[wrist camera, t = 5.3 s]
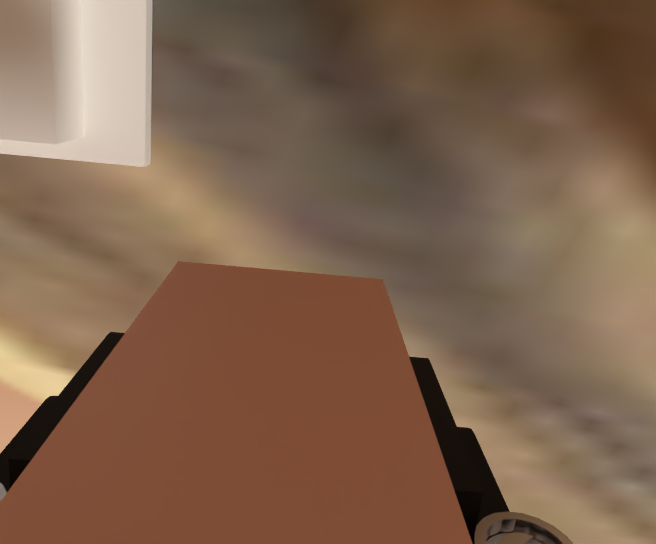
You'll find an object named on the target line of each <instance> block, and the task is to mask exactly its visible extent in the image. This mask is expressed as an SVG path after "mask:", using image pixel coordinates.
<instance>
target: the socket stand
mask: <svg viewBox="0 0 656 544" xmlns="http://www.w3.org/2000/svg"><path fill="white" fill-rule="evenodd" d="M151 78H152V0H0V153H2V154H12V155H23V156H34V157H44V158H55V159H66V160H76V161H87V162H98V163H108V164H119V165H130V166H141V167H146V166H147V165H149V164H150V163H151Z"/></svg>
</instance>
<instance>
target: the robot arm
mask: <svg viewBox="0 0 656 544" xmlns="http://www.w3.org/2000/svg"><path fill="white" fill-rule="evenodd" d="M124 334H125V333H117V332H110V333H109V334H108V335H107V336H106V337H105V339H104V340H103V341H102V342H101V344H100V345H99V346H98V347H97V349H96V350H95V351H94V352H93V354H92V355H91V356H90V357H89V359H88V360H87V361H86V362H85V363H84V365H83V366H82V367H81V368H80V370H79V371H78V372H77V373H76V375H75V376H74V377H73V378H72V380H71V381H70V382H69V383H68V385H67V386H66V387H65V388H64V390H63V391H62V392H61V393H60V395H59V396H50V397H48V398H47V399H46V400H45V401H44V402H43V403H42V405H41V406H40V407H39V408H38V409H37V411H36V412H35V413H34V414H33V415H32V417H31V418H30V419H29V420H28V422H26V424H25V425H24V426H23V427H22V429H21V430H20V431H19V432H18V433H17V435H16V436H15V437H14V438H13V439H12V441H11V442H10V443H9V444H8V445H7V446H6V448H5V449H4V450H3V451H2V452H1V454H0V502H1V500H2V499H3V498H4V496H5V495H6V494H7V492H8V491H9V490H10V488H11V487H12V485H13V484H14V483H15V481H16V480H17V479H18V477H19V476H20V475H21V473H22V472H23V471H24V469H25V468H26V467H27V465H28V464H29V463H30V461H31V460H32V458H33V457H34V456H35V454H36V453H37V452H38V450H39V449H40V448H41V446H42V445H43V444H44V442H45V441H46V440H47V438H48V437H49V435H50V434H51V433H52V431H53V430H54V429H55V427H56V426H57V425H58V423H59V422H60V421H61V419H62V418H63V417H64V415H65V414H66V413H67V411H68V410H69V408H70V407H71V406H72V404H73V403H74V402H75V400H76V399H77V398H78V396H79V395H80V394H81V392H82V391H83V390H84V388H85V387H86V385H87V384H88V383H89V381H90V380H91V379H92V377H93V376H94V375H95V373H96V372H97V371H98V369H99V368H100V367H101V365H102V364H103V362H104V361H105V360H106V358H107V357H108V356H109V354H110V353H111V352H112V350H113V349H114V348H115V346H116V345H117V344H118V342H119V341H120V340H121V338H122V337H123V335H124ZM409 358H410V361H411V364H412V367H413V370H414V373H415V376H416V379H417V382H418V385H419V388H420V391H421V394H422V397H423V399H424V402H425V405H426V408H427V411H428V414H429V417H430V420H431V423H432V426H433V429H434V432H435V435H436V438H437V441H438V444H439V447H440V450H441V452H442V455H443V458H444V461H445V464H446V467H447V470H448V473H449V476H450V479H451V482H452V485H453V488H454V491H455V494H456V497H457V500H458V502H459V505H460V508H461V511H462V514H463V517H464V520H465V523H466V526H467V529H468V532H469V535H470V538H471V541H472V544H573V543H572V542H571V540H570V539H569V538H568V537H567V536H566V535H565V534H563V533H562V532H561V531H559V530H558V529H557V528H555V527H554V526H552V525H551V524H549V523H547V522H545V521H543V520H541V519H539V518H536V517H533V516H530V515H526V514H523V513H516V512H509V509H508V507H507V505H506V503H505V501H504V498H503V496H502V494H501V492H500V489H499V487H498V485H497V483H496V481H495V478H494V476H493V474H492V472H491V469H490V467H489V465H488V463H487V461H486V458H485V456H484V454H483V452H482V450H481V447H480V445H479V443H478V441H477V438H476V436H475V434H474V432H473V431H472V429H470V428H464V427H457V426H456V424H455V421H454V419H453V417H452V414H451V412H450V409H449V407H448V404H447V402H446V399H445V397H444V395H443V392H442V390H441V387H440V385H439V382H438V380H437V377H436V375H435V373H434V370H433V368H432V365H431V363H430V360H429V359H428V358H418V357H409Z"/></svg>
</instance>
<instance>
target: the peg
mask: <svg viewBox="0 0 656 544" xmlns="http://www.w3.org/2000/svg"><path fill="white" fill-rule="evenodd" d="M0 544H472V541H471V538H470V535H469V532H468V529H467V526H466V523H465V520H464V517H463V514H462V511H461V508H460V505H459V502H458V500H457V497H456V494H455V491H454V488H453V485H452V482H451V479H450V476H449V473H448V470H447V467H446V464H445V461H444V458H443V455H442V452H441V450H440V447H439V444H438V441H437V438H436V435H435V432H434V429H433V426H432V423H431V420H430V417H429V414H428V411H427V408H426V405H425V402H424V399H423V397H422V394H421V391H420V388H419V385H418V382H417V379H416V376H415V373H414V370H413V367H412V364H411V361H410V358H409V355H408V352H407V349H406V347H405V344H404V341H403V338H402V335H401V332H400V329H399V326H398V323H397V320H396V317H395V314H394V311H393V308H392V305H391V302H390V299H389V296H388V294H387V291H386V288H385V285H384V282H383V279H372V278H360V277H349V276H338V275H327V274H315V273H304V272H293V271H282V270H271V269H259V268H248V267H237V266H226V265H214V264H203V263H192V262H181V261H178V262H177V264H176V265H175V267H174V268H173V269H172V271H171V272H170V273H169V275H168V276H167V277H166V279H165V280H164V281H163V283H162V284H161V285H160V287H159V288H158V290H157V291H156V292H155V294H154V295H153V296H152V298H151V299H150V300H149V302H148V303H147V304H146V306H145V307H144V308H143V310H142V311H141V312H140V314H139V315H138V317H137V318H136V319H135V321H134V322H133V323H132V325H131V326H130V327H129V329H128V330H127V331H126V333H125V334H124V335H123V337H122V338H121V340H120V341H119V342H118V344H117V345H116V346H115V348H114V349H113V350H112V352H111V353H110V354H109V356H108V357H107V358H106V360H105V361H104V362H103V364H102V365H101V367H100V368H99V369H98V371H97V372H96V373H95V375H94V376H93V377H92V379H91V380H90V381H89V383H88V384H87V385H86V387H85V388H84V390H83V391H82V392H81V394H80V395H79V396H78V398H77V399H76V400H75V402H74V403H73V404H72V406H71V407H70V408H69V410H68V411H67V413H66V414H65V415H64V417H63V418H62V419H61V421H60V422H59V423H58V425H57V426H56V427H55V429H54V430H53V431H52V433H51V434H50V435H49V437H48V438H47V440H46V441H45V442H44V444H43V445H42V446H41V448H40V449H39V450H38V452H37V453H36V454H35V456H34V457H33V458H32V460H31V461H30V463H29V464H28V465H27V467H26V468H25V469H24V471H23V472H22V473H21V475H20V476H19V477H18V479H17V480H16V481H15V483H14V484H13V485H12V487H11V488H10V490H9V491H8V492H7V494H6V495H5V496H4V498H3V499H2V500H1V502H0Z"/></svg>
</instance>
